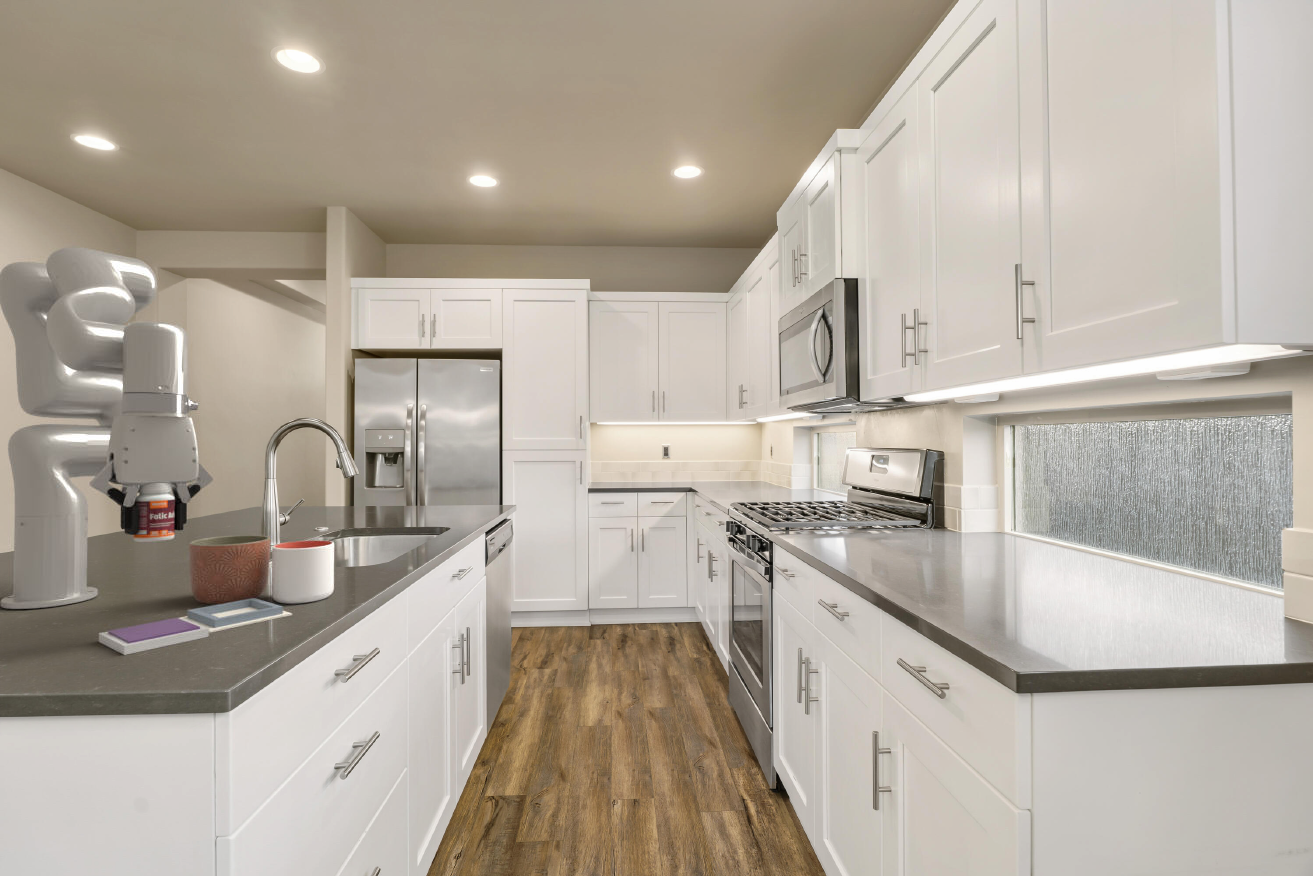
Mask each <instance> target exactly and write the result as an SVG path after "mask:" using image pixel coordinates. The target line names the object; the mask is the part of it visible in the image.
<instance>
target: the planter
mask: <svg viewBox="0 0 1313 876" xmlns="http://www.w3.org/2000/svg"><path fill="white" fill-rule="evenodd" d="M188 546H189V548H188V550H189V577H190V588H191V592H192V593H191V594H192V595H193V597H194V598H193V599H195V600H196V601H197V602H199V603H201V604H206V605H219V604H224V603H229V602H235V601H240V600H246V599H251V598H256V599H257V598H258V597H260V596H261V595H262V594H263V593H264V592H265V590H266V588H267V585H268V579H269V574H270V573H269V572H270V561H271V560H270V558H271V537H270V536H267V535H261V534H239V535H238V534H237V535H235V534H234V535H224V536H223V535H222V536H213V537H212V536H211V537H204V538H199V539H196V540H195V539H194V540H193V541H190V542H189V543H188Z"/></svg>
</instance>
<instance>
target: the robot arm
mask: <svg viewBox="0 0 1313 876" xmlns="http://www.w3.org/2000/svg"><path fill="white" fill-rule="evenodd" d="M157 293H158V279H157V276H156V274H155V272H154V271H153V269H152V268H151V266H149V264H147V263H146V262H144V261H143V260H141V259H138V258H134V257H130V256H124V255H119V254H115V253H110V252H105V251H100V250H96V249H92V248H91V249H90V248H86V247H80V246H79V247H77V246H76V247H75V246H69V247H68V246H67V247H63V248H59V249H57V250H55V251H53V252H52V253H51V254H50V255H49V256H48V257H47V260H46V263H42V262H41V263H40V262H33V261H32V262H31V261H19V262H12V263H9V264H7V265H6V266H4V267H3V268H2V270H1V271H0V307H1V311H2V314H3V317H4V319H5V320H6V322H7V325H8V328H9V329H10V331H11V334H12V337H13V340H14V346H15V347H14V348H15V365H16V366H15V369H16V385H17V388H16V390H17V398H18V402H19V405H20V408H21V409H22V410H23V412H25V413H26V414H27V415H30V416H33V417H41V418H50V419H51V418H52V419H53V418H54V419H76V420H77V419H81V420H96V421H97V423H98V424H99V425H89V424H66V423H65V424H58V423H53V424H52V423H47V424H46V423H44V424H43V423H42V424H41V423H40V424H32V425H28V426H23V427H21V428H19V429H17V430H16V431H14V432H13V433H12V434H11V436H10V437H9V439H8V444H7V446H8V447H7V453H8V459H9V462H10V463H9V464H10V469H11V473H12V478H13V486H14V487H13V490H14V530H13V531H14V538H13V539H14V542H13V544H14V545H13V591H12V592H13V593H12V595H9V596H5V597H3V598H2V599H1V600H0V607H1V608H3V609H6V610H7V609H8V610H9V609H10V610H27V609H40V608H41V609H43V608H51V607H58V606H65V605H71V604H75V603H76V604H77V603H81V602H83V601H87V600H91V599H93V598H95V597H96V596H98V594H99V592H98V591H99V590H98V588H96V587H95V586H93V587H92V586H87V584H88V583H87V582H88V579H87V578H88V526H89V524H88V520H89V519H88V513H89V512H88V510H89V508H88V507H89V504H88V500H87V497H86V496H85V495H84V493H83V492H82V491H81V490H80V489H79V488H78V487H77V486H76V485H75V484H74V483H72V481H71V480H70V479H71V478H80V477H94V478H92V480H91V481H90V482H89V486H90V487H91V488H93V489H95V490H96V491H98V492H101V493H102V494H104V495H106V496H107V497H108V498H109V499H110V500H112V501H113V502H115V503H116V504H117V506H120V528H121V530H124V533H125V534H126V535H131V536H134V535H136V534H137V533H139V507H137V506H135V499H136V497H137V496H138V494H139V493H138V490H139V487H140V485H149V484H153V483H169V484H172V492H171V495H173V496H174V497H175V531H178V532H180V531H183V530H184V525H186V524H187V521H188V519H187V518H188V514H187V513H188V511H187V510H188V503H190V501H191V500H192V498H194V497H195V496H196V495H197V494H198V493H199V492H200V491H201V490H202V489H204V488H205V487H207V486H208V485H209V484H211V483H212V482H213V480H214V479H213V477H212V476H211V475H210V473H209V472H208V471H207V469H205V468H204V467H203V465H202V464H201V463H200V460H199V458H200V456H199V449H198V448H199V447H198V440H197V439H198V438H197V433H196V429H195V425H194V420H193V417H188V415H189V413H190V412H192V411H197V410H198V409H199V403H198V402H197V401H192V400H190V396H188V379H189V378H188V374H189V373H188V370H189V369H188V366H189V364H188V362H189V357H188V356H189V351H188V350H189V337H188V333H187V331H186V330H185V329H184V328H183V327H181V326H179V325H176V324H174V323H167V322H162V321H161V322H160V321H150V320H149V321H147V320H146V321H145V320H143V321H142V320H141V321H140V320H138V321H132V322H129V321H130V320H131V318H132V317H133V316H134V314H137V313H139V312H141V311H142V310H144V309H145V308H147V307H149V306H150V305H151V304H152V303H153V301H154V300H155V298H156V295H157ZM128 322H129V323H128ZM126 323H127V324H126ZM125 324H126V325H125ZM110 483H111V484H113V485H114V484H115V485H121V488H120V489H118V488H116V487H114V486H113V485H111V484H110ZM187 483H191V484H188V485H187Z"/></svg>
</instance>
